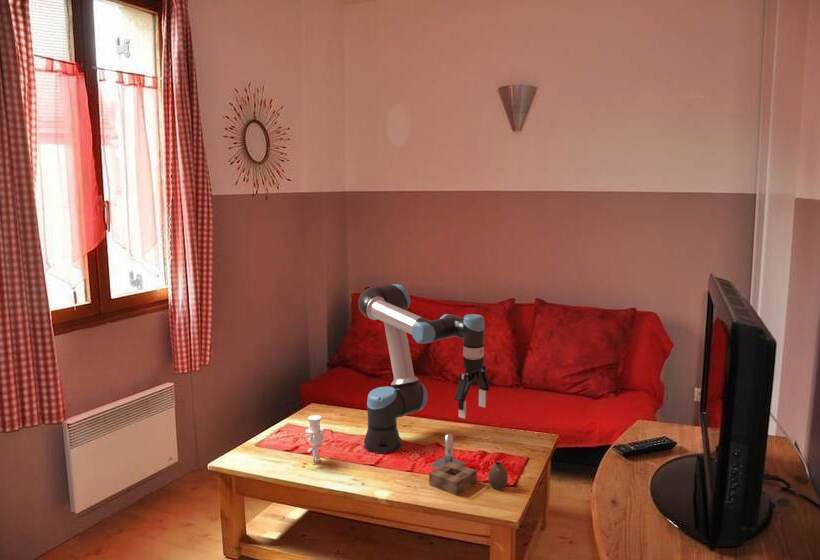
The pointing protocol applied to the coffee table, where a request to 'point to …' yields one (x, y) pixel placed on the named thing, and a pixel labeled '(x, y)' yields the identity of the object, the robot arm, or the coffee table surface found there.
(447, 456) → the peg
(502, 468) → the vase
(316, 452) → the figurine
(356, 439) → the coffee table surface
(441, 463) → the mat
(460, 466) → the block
